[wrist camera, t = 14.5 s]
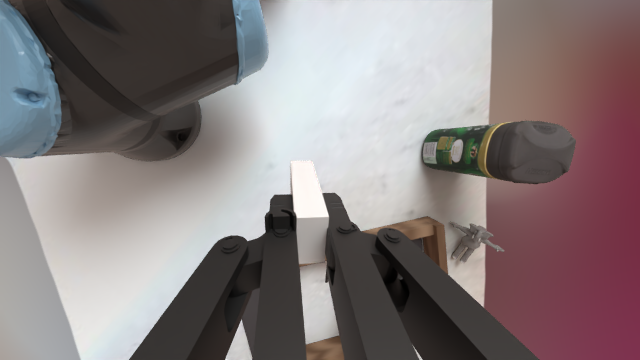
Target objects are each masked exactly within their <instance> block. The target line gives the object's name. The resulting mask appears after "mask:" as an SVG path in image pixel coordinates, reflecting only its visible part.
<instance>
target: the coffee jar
mask: <svg viewBox="0 0 640 360" xmlns="http://www.w3.org/2000/svg"><path fill="white" fill-rule="evenodd" d="M575 143H576V140H575V139H574V138H573V137H572V135H571V134H570V133H569V132H568V131H567V130H566V129H565V128H564V127H562V126H560V125H557V124H553V123H548V122H540V121H521V122H507V123H500V124H492V125H482V126H472V127H462V128H451V129H439V130H434V131H432V132H430V133H429V134H428V136H427V137H426V139H425V142H424V146H423V161H424V163H425V164H426V165H427V166H428V167H430V168H433V169H438V170H444V171H451V172H457V173H463V174H469V175H475V176H482V177H488V178H493V179H500V180H504V181H512V182H514V183H528V184H538V183H547V182H550V181H553V180H555V179H557V178H559V177H560V176H561V175H563V174H564V173H566V172H568V170H569V167H570V164H571V161H572V157H573V153H574V149H575Z"/></svg>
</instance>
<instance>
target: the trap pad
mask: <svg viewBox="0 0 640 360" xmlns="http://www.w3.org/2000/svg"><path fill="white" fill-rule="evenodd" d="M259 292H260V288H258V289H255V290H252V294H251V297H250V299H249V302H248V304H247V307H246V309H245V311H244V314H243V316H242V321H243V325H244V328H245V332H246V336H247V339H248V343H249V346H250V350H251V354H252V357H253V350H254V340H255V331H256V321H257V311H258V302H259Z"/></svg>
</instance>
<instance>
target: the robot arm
mask: <svg viewBox="0 0 640 360" xmlns="http://www.w3.org/2000/svg"><path fill="white" fill-rule="evenodd" d="M267 58H268V39H267V32H266V27H265V22H264V17H263V13H262V9H261V5H260V2H259V0H0V157H13V158H33V157H36V156H49V155H66V154H84V153H101V152H115V153H117V154H120V155H123V156H125V157H128V158H131V159H135V160H141V161H159V160H166V159H170V158H173V157H176V156H178V155H180V154H181V153H183V152H184V151H186V150H187V149H188V148H189V147H190V146H191V145H192V144H193V142H194V141H195V139H196V137H197V135H198V133H199V130H200V126H201V110H200V106H199V102H198V100H199V99H201V98H204V97H206V96H208V95H210V94H213V93H215V92H217V91H219V90H221V89H224V88H226V87H228V86H230V85H232V84H234V85H236V84H238V83H239V82H241V80H242V79H243V78H245V77H247V76H249V75H251V74H253V73H255V72H257V71H259V70H260V69H261V68H262V67H263V66H264V64H265V62H266V61H267ZM265 230H266V232H265V234H263V235H262V236H261V237H259V238H257V239H254V240H251V241H247V240H246V239H245V238H243V237H241V236H228V237H224V238H223V239H221V240H219V241H218V242H217V243H216V244H214V246H213V247H212V248H211V250H210V251H209V252H208V254H207V255H206V257H205V258H204V259H203V261H202V262H201V263H200V265H199V266H198V267H197V269H196V270H195V271H194V273H193V274H192V275H191V277H190V278H189V280H188V281H187V282H186V284H185V285H184V286H183V288H182V289H181V290H180V292H179V293H178V294H177V296H176V297H175V298H174V300H173V301H172V303H171V304H170V305H169V307H168V308H167V309H166V311H165V312H164V313H163V315H162V316H161V317H160V319H159V320H158V321H157V323H156V324H155V325H154V327H153V328H152V330H151V331H150V332H149V334H148V335H147V336H146V338H145V339H144V340H143V342H142V343H141V344H140V346H139V347H138V348H137V350H136V351H135V353H134V354H133V355H132V357H131V358H130V359H129V360H225V358H226V355H227V353H228V350H229V348H230V346H231V343H232V341H233V338H234V336H235V333H236V331H237V328H238V326H239V324H240V321H241V319H242V316H243V314H244V311H245V309H246V307H247V304H248V302H249V299H250V297H251V294H252V290H255V289H258V288H260V292H259V302H258V311H257V321H256V331H255V340H254V350H253V359H252V360H307V356H306V344H305V331H304V319H303V306H302V294H301V282H300V269H299V264H308V263H323V262H325V255H326V259H327V269H326V280H325V283H327V282H328V281H329V286H330V291H331V296H332V301H333V306H334V310H335V315H336V320H337V325H338V330H339V335H340V340H341V345H342V350H343V355H344V359H345V360H419V358H418V356H417V354H416V352H415V350H414V348H413V346H414V347H415V349H416V350H417V352H418V353H419V355H420V356H421V358H422V359H423V360H539V359H538V358H537V357H536V356H535V355H534V354H533V353H532V352H531V351H530V350H529V349H527V348H526V347H525V346H524V345H523V344H522V343H521V342H520V341H519V340H518V339H517V338H516V337H515V336H513V335H512V334H511V333H510V332H509V331H508V330H507V329H506V328H505V327H504V326H503V325H501V323H499V322H498V321H497V320H496V319H495V318H494V317H493V316H492V315H491V314H490V313H489V312H488V311H487V310H485V309H484V308H483V307H482V306H481V305H480V304H479V303H478V302H477V301H476V300H475V299H474V298H473V297H472V296H470V295H469V294H468V293H467V292H466V291H465V290H464V289H463V288H462V287H461V286H460V285H459V284H458V283H456V282H455V281H454V280H453V279H452V278H451V277H450V276H449V275H448V274H447V273H446V272H445V271H444V270H442V269H441V268H440V267H439V266H438V265H437V264H436V263H435V262H434V261H433V260H432V259H431V258H430V257H428V256H427V255H426V254H425V253H424V252H423V251H422V250H421V249H420V248H419V247H418V246H417V245H416V244H414V243H413V242H412V241H411V240H410V239H409V238H408V237H407V236H406V235H405V234H404V233H402V232H401V231H399V230H397V229H394V228H382V229H380V230H379V231H378V232H377V235H375V234H369V233H365V232H362V231H360V230H359V228H358V226H357V225H356V224H354V223H353V222H351V221H350V219H349V217H348V214H347V212H346V210H345V208H344V205H343V204H342V200H341V198H340V197H339V196H338V195H337V194H336V193H322V192H321V188H320V185H319V182H318V178H317V175H316V172H315V168H314V165H313V162H312V161H291V195H274V196H273V197H272V199H271V201H270V211H269V212H268V213H266V215H265Z"/></svg>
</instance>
